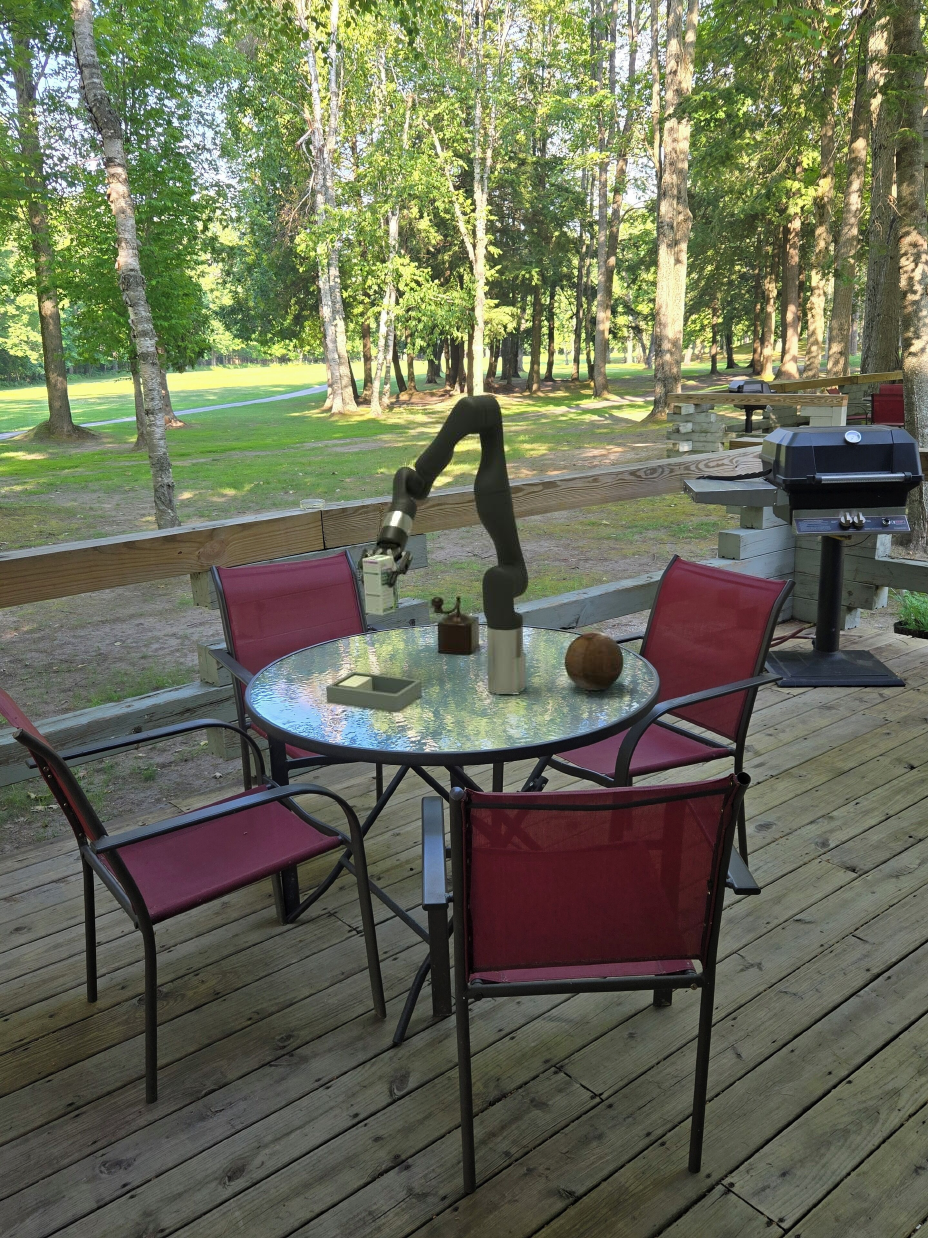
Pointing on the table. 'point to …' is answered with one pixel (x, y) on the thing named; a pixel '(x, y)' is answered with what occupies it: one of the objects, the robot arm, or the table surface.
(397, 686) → the tray
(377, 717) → the table surface
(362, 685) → the cream rectangular block
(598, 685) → the wooden sphere
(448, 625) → the manual coffee grinder
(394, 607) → the syrup box
